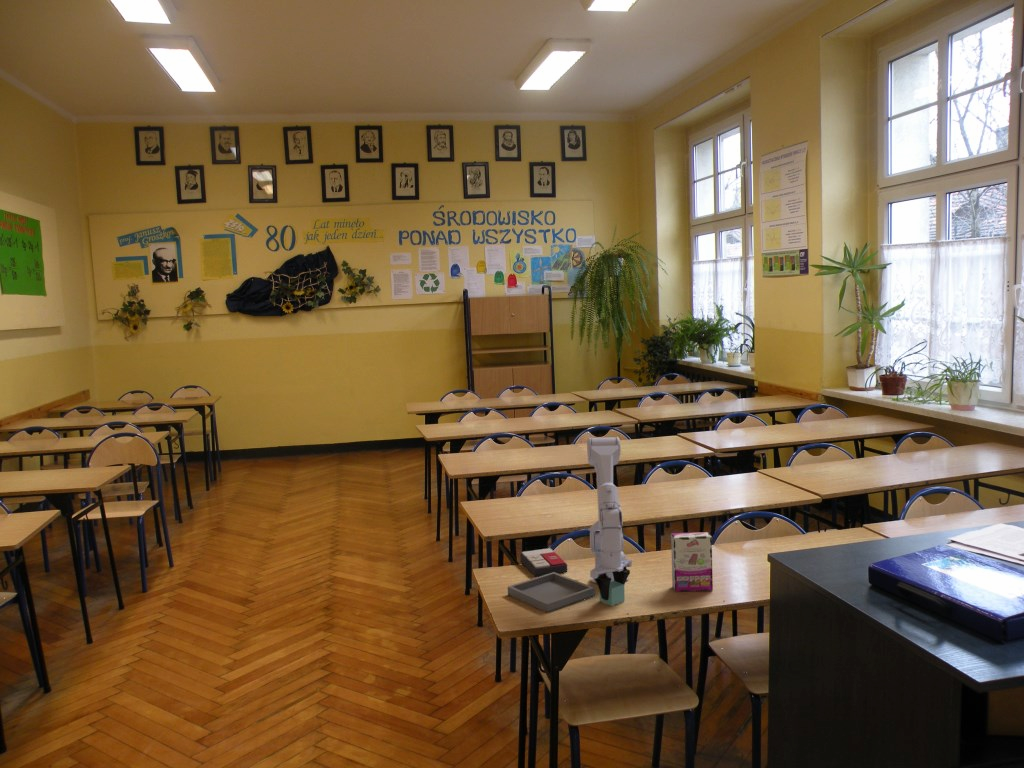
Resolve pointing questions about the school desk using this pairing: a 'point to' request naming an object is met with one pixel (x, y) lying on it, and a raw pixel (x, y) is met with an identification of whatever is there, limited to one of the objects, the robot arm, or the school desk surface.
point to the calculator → (542, 562)
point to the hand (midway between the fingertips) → (611, 596)
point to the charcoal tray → (551, 591)
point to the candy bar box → (691, 562)
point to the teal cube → (614, 593)
